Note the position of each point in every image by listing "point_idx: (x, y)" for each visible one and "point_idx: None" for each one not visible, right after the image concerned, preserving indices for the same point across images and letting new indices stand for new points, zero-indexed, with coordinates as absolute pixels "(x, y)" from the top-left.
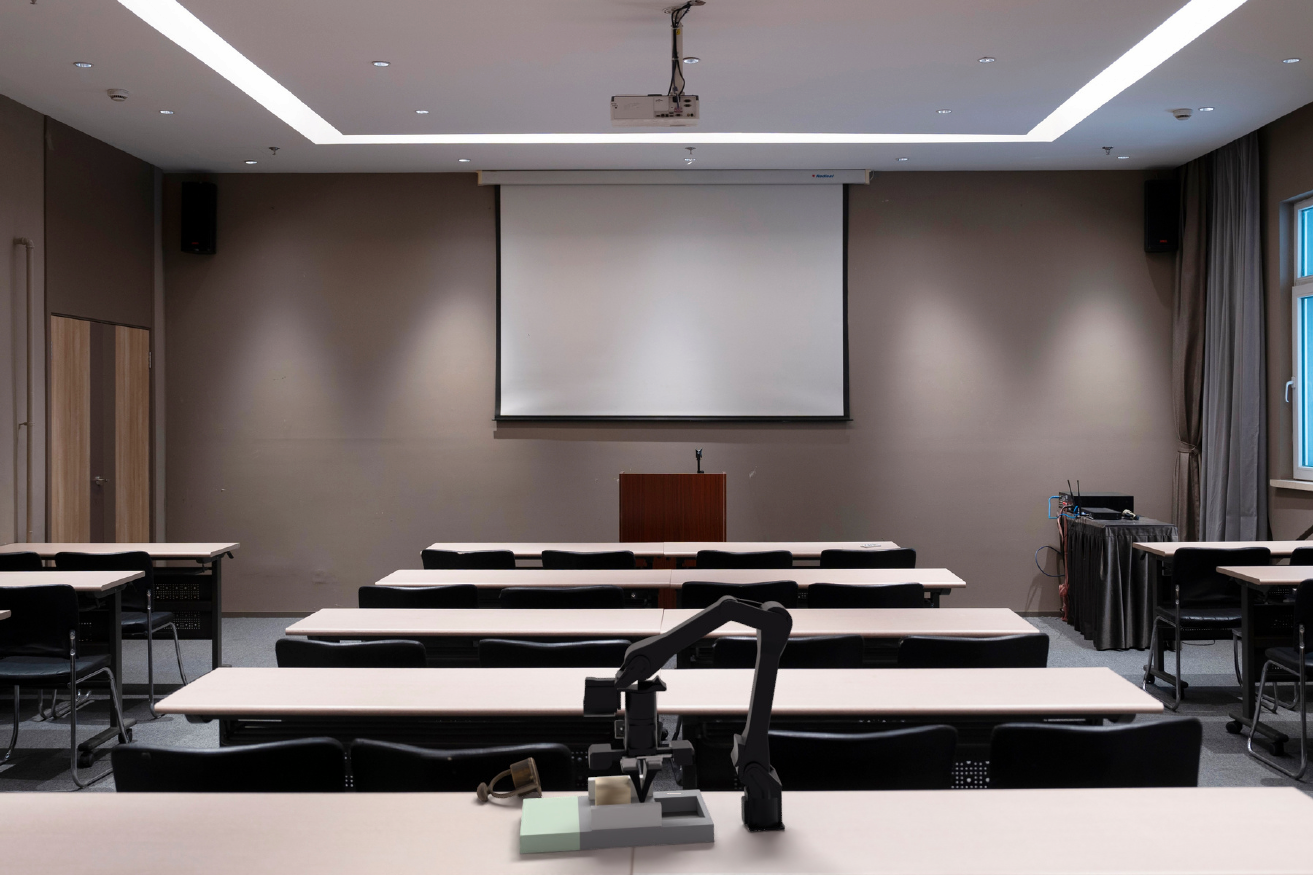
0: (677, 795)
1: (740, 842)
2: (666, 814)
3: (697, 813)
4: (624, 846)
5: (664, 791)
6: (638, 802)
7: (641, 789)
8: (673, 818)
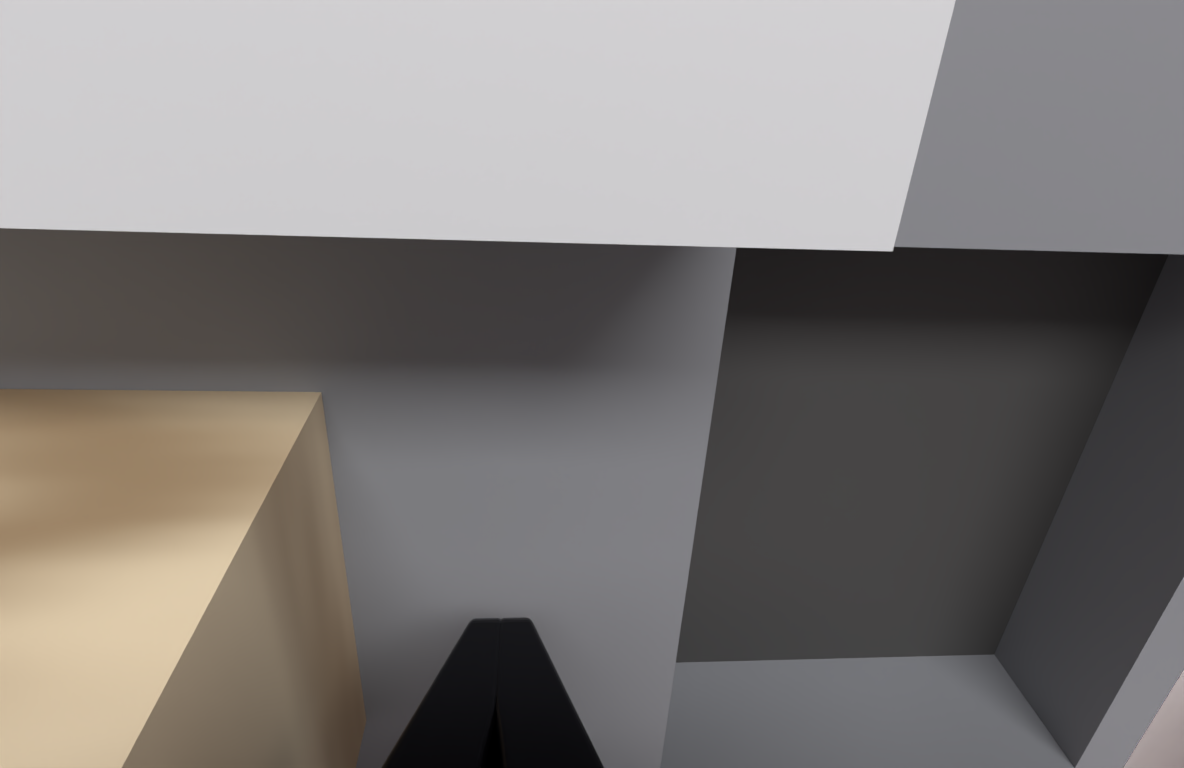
0: (1122, 197)
1: (1139, 743)
2: (820, 260)
3: (1148, 287)
4: None
5: None
6: (477, 365)
7: (498, 741)
8: (857, 369)
